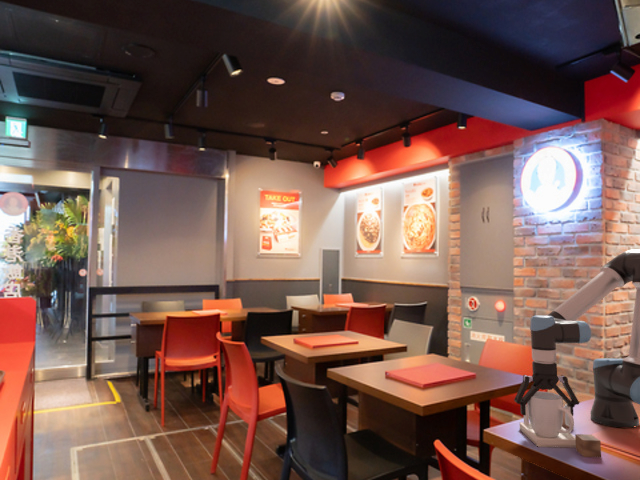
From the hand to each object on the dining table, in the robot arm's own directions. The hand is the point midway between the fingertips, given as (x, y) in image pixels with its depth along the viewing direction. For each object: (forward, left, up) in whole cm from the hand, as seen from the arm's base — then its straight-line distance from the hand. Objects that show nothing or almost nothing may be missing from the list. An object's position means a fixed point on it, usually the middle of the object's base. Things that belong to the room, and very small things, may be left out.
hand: (547, 425), depth 150 cm
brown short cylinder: (-11, -12, -4) cm, 17 cm away
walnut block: (-7, +12, -4) cm, 15 cm away
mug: (0, 0, -4) cm, 4 cm away
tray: (0, 0, -4) cm, 4 cm away
